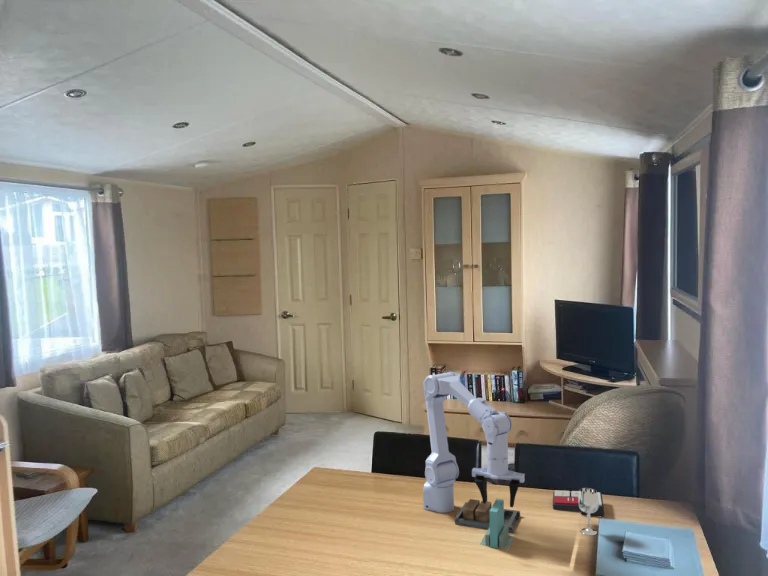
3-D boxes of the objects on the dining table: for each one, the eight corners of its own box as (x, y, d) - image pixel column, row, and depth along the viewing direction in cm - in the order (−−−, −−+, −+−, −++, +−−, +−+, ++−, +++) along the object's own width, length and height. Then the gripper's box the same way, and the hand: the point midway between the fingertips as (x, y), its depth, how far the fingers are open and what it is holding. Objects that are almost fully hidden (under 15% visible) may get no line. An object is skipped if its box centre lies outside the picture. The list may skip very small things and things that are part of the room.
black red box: (553, 489, 197) (601, 490, 193) (553, 501, 197) (602, 503, 193) (552, 502, 187) (603, 504, 182) (553, 515, 187) (604, 517, 183)
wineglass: (599, 528, 175) (598, 488, 174) (599, 537, 169) (599, 495, 169) (578, 526, 177) (577, 486, 176) (578, 535, 171) (577, 493, 171)
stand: (479, 547, 165) (479, 533, 165) (486, 535, 173) (486, 521, 173) (508, 552, 162) (508, 538, 162) (514, 539, 170) (514, 525, 169)
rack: (455, 527, 179) (454, 517, 178) (466, 511, 190) (465, 502, 189) (512, 536, 172) (512, 525, 172) (520, 519, 183) (520, 509, 183)
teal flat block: (490, 547, 164) (489, 511, 163) (497, 532, 172) (496, 498, 172) (497, 548, 163) (496, 512, 162) (504, 533, 171) (503, 499, 171)
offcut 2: (475, 524, 178) (475, 510, 178) (482, 513, 185) (481, 500, 185) (485, 525, 177) (485, 512, 177) (491, 514, 184) (491, 501, 184)
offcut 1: (463, 522, 180) (463, 509, 179) (470, 511, 187) (470, 499, 187) (473, 523, 178) (472, 510, 178) (479, 512, 186) (479, 500, 186)
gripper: (468, 458, 168) (469, 505, 169) (520, 464, 162) (521, 513, 163) (475, 450, 174) (476, 496, 175) (525, 455, 169) (526, 503, 169)
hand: (498, 503), depth 169 cm, fingers open, 7 cm apart
